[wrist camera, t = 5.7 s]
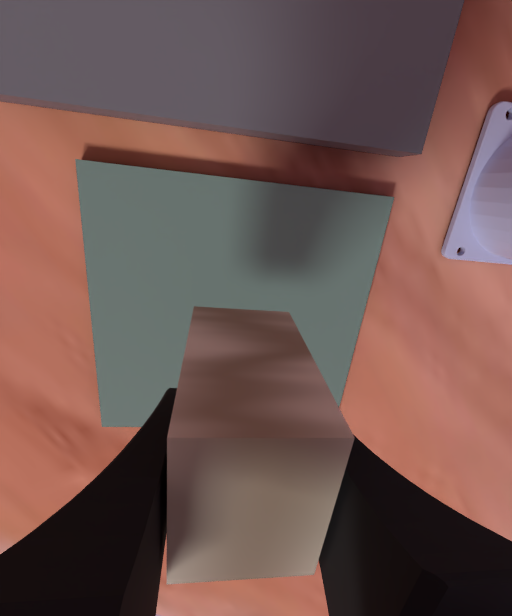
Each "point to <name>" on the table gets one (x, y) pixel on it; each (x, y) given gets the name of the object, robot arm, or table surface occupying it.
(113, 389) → the rubber mat
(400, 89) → the pocket plate
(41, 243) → the table surface
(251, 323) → the birch block
